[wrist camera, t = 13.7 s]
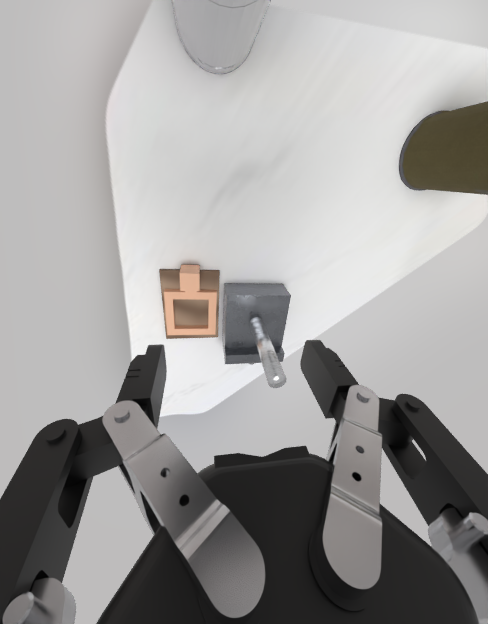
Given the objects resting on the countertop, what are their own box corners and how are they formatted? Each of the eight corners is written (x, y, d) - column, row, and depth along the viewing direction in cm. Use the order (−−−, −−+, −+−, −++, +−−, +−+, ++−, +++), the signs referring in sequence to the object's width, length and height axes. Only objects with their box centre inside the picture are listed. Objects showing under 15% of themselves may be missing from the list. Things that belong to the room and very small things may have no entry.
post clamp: (224, 283, 44) (237, 349, 28) (282, 283, 46) (327, 345, 30) (222, 348, 51) (231, 431, 35) (272, 347, 53) (303, 424, 37)
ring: (162, 264, 40) (158, 272, 36) (217, 265, 41) (218, 274, 38) (168, 331, 46) (165, 344, 43) (215, 331, 48) (216, 343, 45)
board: (159, 269, 41) (159, 270, 40) (219, 270, 43) (219, 271, 42) (166, 336, 48) (166, 338, 47) (217, 335, 49) (217, 337, 49)
